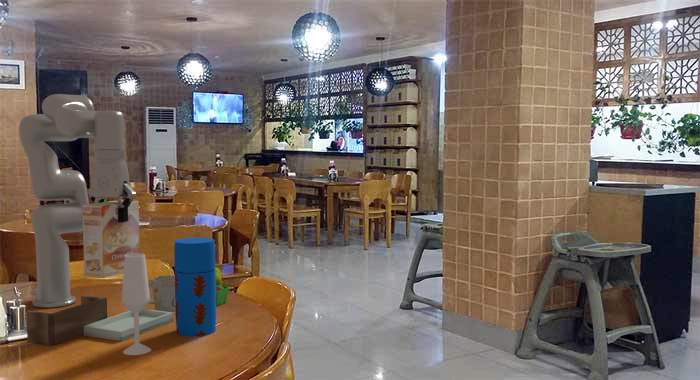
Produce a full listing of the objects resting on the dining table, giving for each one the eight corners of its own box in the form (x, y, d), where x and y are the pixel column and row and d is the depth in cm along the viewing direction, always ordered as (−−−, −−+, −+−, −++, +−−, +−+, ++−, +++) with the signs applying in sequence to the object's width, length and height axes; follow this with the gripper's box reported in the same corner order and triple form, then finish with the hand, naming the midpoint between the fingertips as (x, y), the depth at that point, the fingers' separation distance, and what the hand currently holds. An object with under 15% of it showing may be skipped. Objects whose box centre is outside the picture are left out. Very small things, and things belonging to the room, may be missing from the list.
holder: (27, 341, 174) (26, 311, 173) (84, 322, 191) (83, 295, 191) (51, 345, 170) (50, 314, 170) (107, 326, 188) (106, 298, 187)
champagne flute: (124, 356, 162) (121, 258, 160) (121, 348, 168) (119, 253, 166) (152, 353, 165) (150, 256, 163) (149, 345, 171) (147, 252, 169)
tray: (83, 335, 179) (83, 326, 179) (137, 316, 199) (137, 307, 198) (121, 341, 174) (121, 331, 174) (173, 321, 193) (173, 312, 193)
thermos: (180, 338, 176) (179, 244, 174) (171, 328, 186) (170, 239, 184) (221, 333, 181) (220, 241, 179) (210, 323, 191) (209, 236, 189)
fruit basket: (187, 304, 213) (187, 269, 212) (203, 298, 221) (203, 264, 220) (218, 307, 209) (217, 271, 208) (233, 301, 217) (233, 266, 216)
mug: (172, 314, 201) (171, 281, 200) (133, 312, 203) (133, 279, 202) (184, 307, 209) (184, 275, 208) (147, 305, 211) (146, 274, 210)
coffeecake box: (104, 278, 176) (102, 205, 175) (83, 277, 179) (80, 204, 177) (141, 268, 190) (139, 200, 189) (121, 267, 193) (119, 199, 191)
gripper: (75, 156, 182) (77, 221, 184) (124, 157, 175) (126, 224, 176) (96, 155, 189) (98, 218, 191) (144, 156, 182) (146, 221, 183)
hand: (112, 220), depth 183 cm, fingers closed on coffeecake box, 7 cm apart
